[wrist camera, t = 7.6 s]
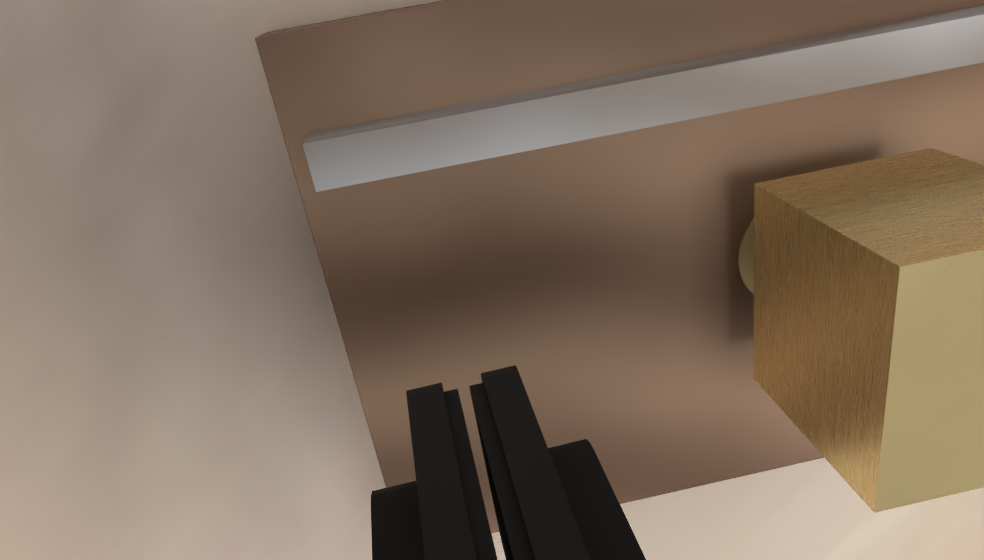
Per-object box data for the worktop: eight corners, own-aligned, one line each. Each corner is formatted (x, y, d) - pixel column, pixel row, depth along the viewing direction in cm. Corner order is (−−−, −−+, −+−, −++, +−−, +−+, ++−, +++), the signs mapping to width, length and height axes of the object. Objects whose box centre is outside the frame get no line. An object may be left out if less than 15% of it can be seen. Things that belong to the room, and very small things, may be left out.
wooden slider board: (267, 32, 15) (162, 82, 8) (1237, -143, 16) (1863, -228, 9) (404, 514, 21) (411, 782, 14) (1106, 357, 22) (1430, 530, 15)
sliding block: (729, 168, 16) (899, 266, 10) (893, 135, 16) (1142, 215, 11) (730, 353, 18) (874, 512, 13) (876, 322, 18) (1076, 465, 13)
